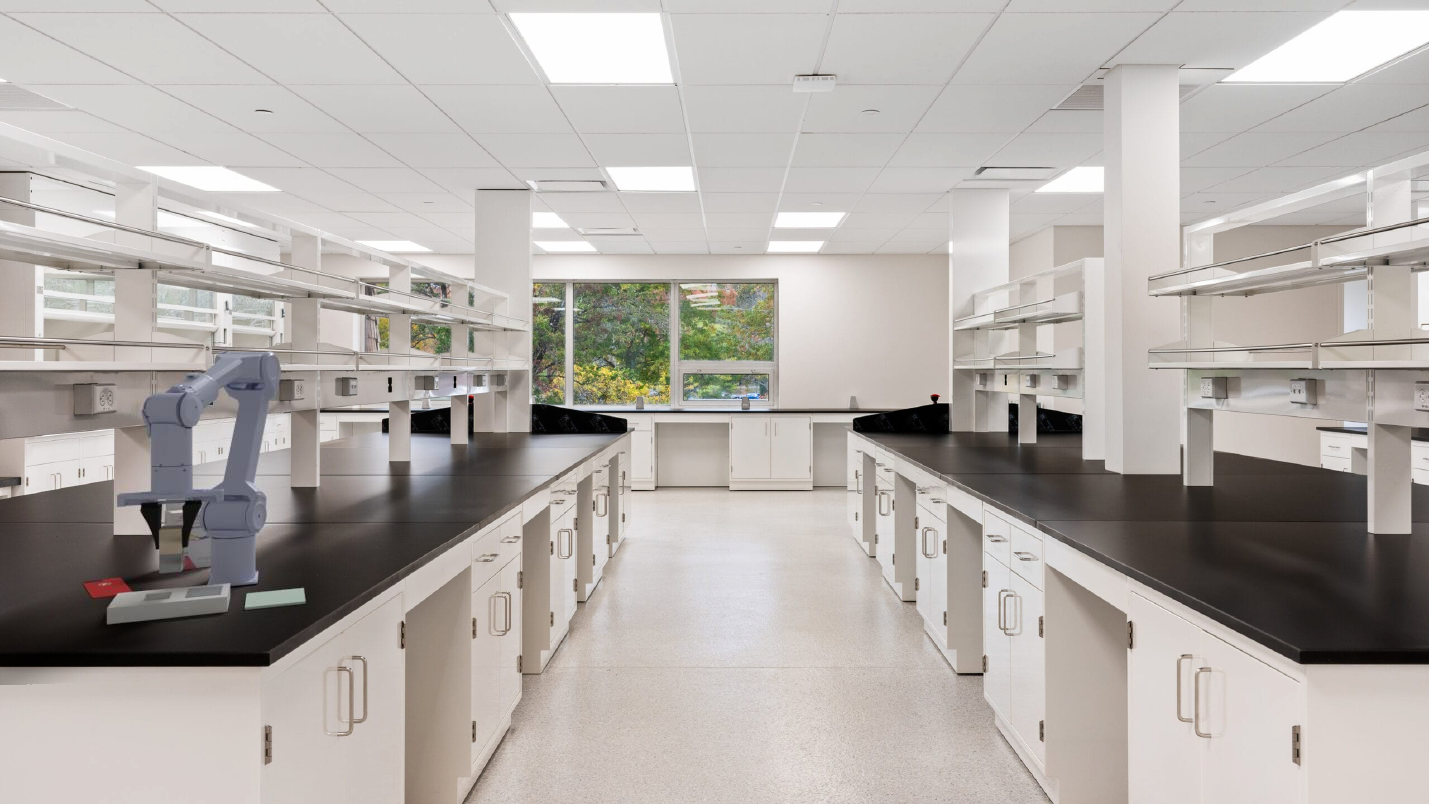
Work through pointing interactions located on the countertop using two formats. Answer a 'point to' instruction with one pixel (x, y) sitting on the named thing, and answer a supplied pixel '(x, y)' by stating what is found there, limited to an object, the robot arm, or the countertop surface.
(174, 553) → the plug
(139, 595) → the white slotted tray
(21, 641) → the countertop surface
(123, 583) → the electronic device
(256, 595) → the mat
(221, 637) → the countertop surface
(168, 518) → the ink cartridge box
